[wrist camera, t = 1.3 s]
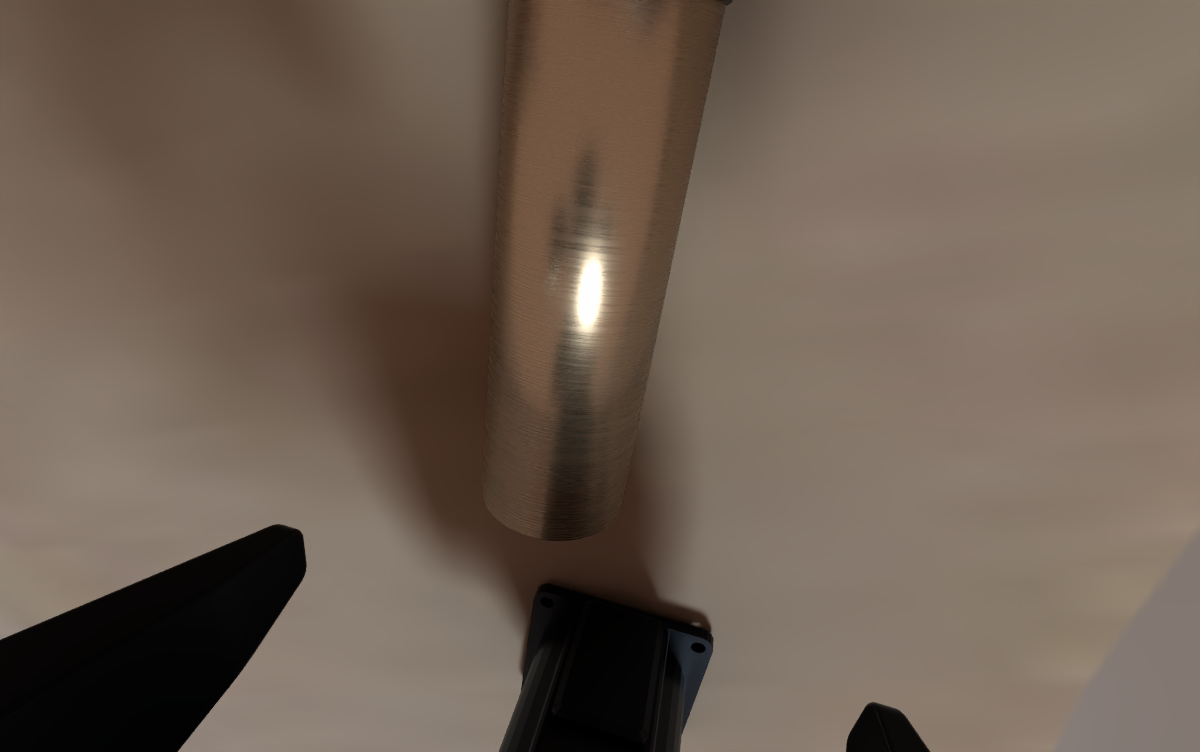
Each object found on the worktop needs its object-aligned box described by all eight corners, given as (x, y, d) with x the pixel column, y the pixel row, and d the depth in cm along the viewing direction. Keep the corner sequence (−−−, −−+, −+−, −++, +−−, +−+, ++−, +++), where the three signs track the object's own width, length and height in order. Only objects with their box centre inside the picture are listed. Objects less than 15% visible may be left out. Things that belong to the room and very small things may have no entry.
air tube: (652, 524, 15) (502, 559, 13) (590, 438, 18) (462, 456, 17) (865, -337, 8) (593, -524, 6) (697, -227, 11) (489, -325, 9)
